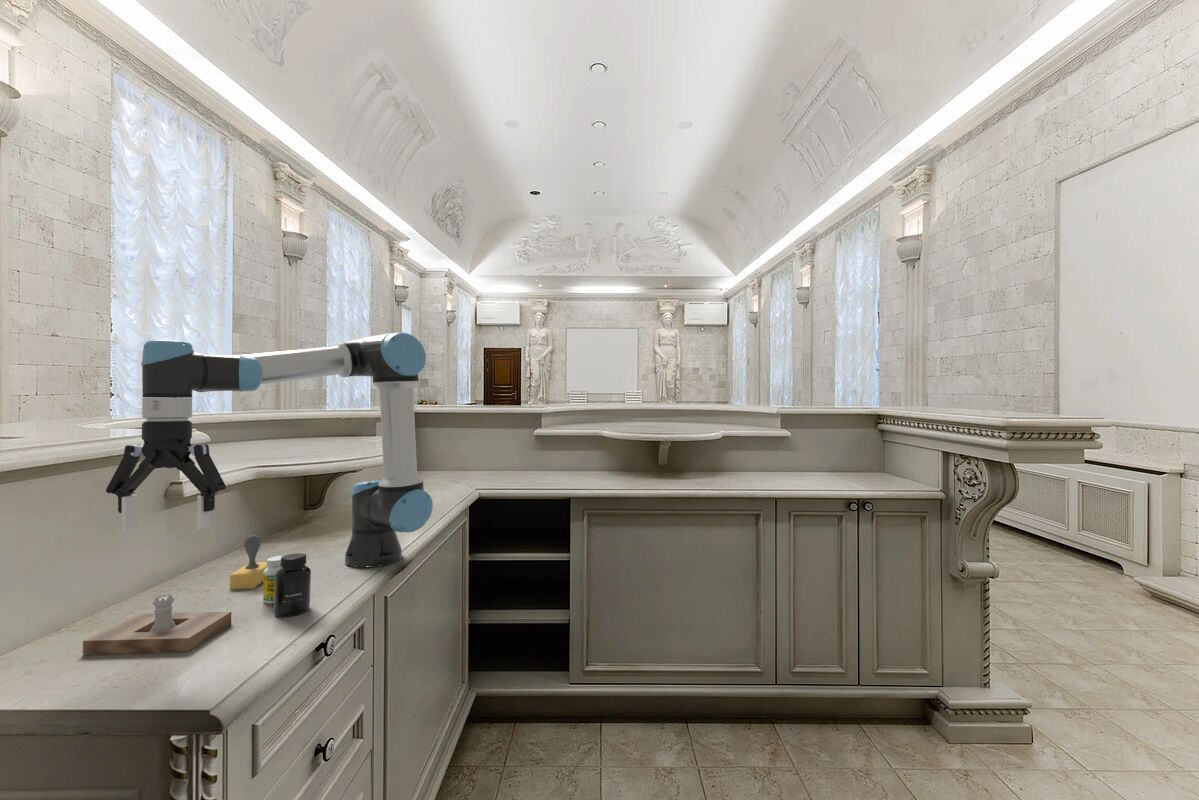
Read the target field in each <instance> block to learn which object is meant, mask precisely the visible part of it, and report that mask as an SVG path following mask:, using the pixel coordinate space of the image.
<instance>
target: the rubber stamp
mask: <svg viewBox="0 0 1199 800" xmlns="http://www.w3.org/2000/svg"><path fill="white" fill-rule="evenodd" d="M261 544H262V543H261V537H260V536H259V535H257V534H251V535H248V536H247V537H246V538H245V540H244V545H243V546H244V547H243V548H244V549H245V552H246V554H247V556H248V561H249V562H248V563H246V564H245V565H244V566H242V567H240V568H239V569H237V570H236V571H234V572H232V573H231V574H230V575H229V590H238V589H239V590H241V589H255V588H257V587H258V586H259V585H260V584H262V583H263V572H264V570H265V569H266V568H268V566H267V561H256V557H257V555H258V552H259V550H260V547H261Z"/></svg>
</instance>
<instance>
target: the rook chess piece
mask: <svg viewBox="0 0 1199 800" xmlns="http://www.w3.org/2000/svg"><path fill="white" fill-rule="evenodd" d="M174 601H175V598H174V597H173V594H171V593H168V594H165V593H164V594H163V595H162V597H161V595H157V596H156V597H154V601H153V602H152V605H153V606H154V607H155V609H154V610H153V612H154V613H155V620H154V625H153V626H152V629H151V630H150V632H167V631H169V630H170V629H172V628H174V627H176V626H177V625H175V622H174V621H173V618H172V613H173V611H172V610H173V609H174V607H173V602H174Z"/></svg>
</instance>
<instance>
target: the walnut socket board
mask: <svg viewBox="0 0 1199 800" xmlns="http://www.w3.org/2000/svg"><path fill="white" fill-rule="evenodd" d="M172 618H173V621H174V622H175V625H177V626H176V627H174V628H172V629H170V630H169V631H167V632H150V630H151V629H152V626H153V625H154V620H155V612H154V613H153V612H152V613H149V612H148V613H137V614H135V615H133V616H131V617H128V618H127V619H125V620H122V621H121V622H118V623H117V624H114V625H112V626H110V627H108V628H106V629H104V630H102V631H101V632H99V633H96V634H94V635H92V636H90V637H88V638H86V639H84V640H82V655H83V654H95V655H118V654H119V655H123V654H128V655H129V654H131V655H132V654H157V653H158V654H161V653H163V654H164V653H188V652H190V651H192V650H194V649H195V648H196V647H198V646H200V645H201V644H203V643H204V642H206V641H208V640H209V639H210V638H212V637H214V636H215V635H216V634H218V633H220V632H221V631H222V630H224V629H226V628H227V627H229V626H230V625H232V611H206V612H204V611H200V612H196V611H195V612H172Z"/></svg>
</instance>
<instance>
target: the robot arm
mask: <svg viewBox="0 0 1199 800" xmlns="http://www.w3.org/2000/svg"><path fill="white" fill-rule="evenodd" d="M426 361H427V354H426V350H425V347H424V346H423V344H422V343H421V341H419V339H418V338H417V337H415V336H414V335H413V334H410V333H407V332H396V331H395V332H389V333H385V334H384V333H383V334H378V335H371V336H370V335H369V336H366V337H363V338H358V339H356V340H349V341H344V342H343V341H342V342H336V343H335V344H334V345H333V346H328V347H318V348H317V347H315V348H305V349H292V350H283V351H282V350H281V351H271V352H261V353H259V352H258V353H251V354H250V353H249V354H237V355H229V354H227V355H226V354H209V353H207V354H206V353H199V352H195V350H194V349H193V344H192V343H190V342H188V341H181V340H180V341H179V340H169V339H168V340H167V339H152V340H149V341H146V342H145V343H144V344H143V349H142V360H141V370H142V372H141V374H142V375H141V376H142V377H141V380H142V382H141V383H142V393H141V394H142V398H141V399H142V401H141V402H142V403H141V404H142V405H141V417H142V418H143V419H146V421H143V422H142V423H141V440H143V445H141V444H138V443H137V444H129V445H126V446H125V447H124V451H123V452H124V453H123V457H122V458H121V460H120V463H119V464H118V467H117V468H116V470H115V472H114V474H113V476H112V477H111V480H110V481H109V483H108V485H107V486H106V489H105V492H106V493H107V494H113V495H116V496H117V512H118V513H119V514H121V532H128V531H131V530H135V529H137V528H138V494H136V492H135V491H136V490H137V489H138V488H139V487H140V485H142V483H143V482H144V481H145V480H146V479H147V478H148V476H149V475H151V473H153V472H154V470H155V469H162V468H167V469H173V468H174V469H175V468H176V470H178V471H180V472H181V473H182V474H183V475H184V476H185V477H186V478H187V479H188V480H189V481H190V483H191V484H192V485H193V486H194V487H195V488H196V489H197V490H198V491H199V492H200V495H197V497H196V530H197V531H200V530H201V531H202V530H205V529H207V528H210V527H211V518H212V517H211V515H212V514H211V511H214V510H215V501H216V499H215V498H216V493H219V492H221V491H225V490H226V488H227V485H226V483H225V482H224V481H225V480H224V479H223V478H222V476H221V474H220V472H219V470H218V468H217V465H216V464H215V462H214V460H213V459H212V457H211V455H210V447H209V445H208V444H207V443H201V444H195V445H192V444H191V440H192V438H193V422H192V421H191V420H189V419H191V418H192V417H193V391H194V392H198V393H206V392H224V391H225V392H226V391H227V392H228V391H229V392H230V391H231V392H232V391H233V392H235V391H236V392H252V391H256V390H258V389H259V387H260V386H261V385H265V384H267V385H268V384H274V383H282V382H288V381H289V382H290V381H297V380H305V379H313V378H314V379H315V378H321V377H328V376H336V375H338V376H340V377H342V378H349V377H370V378H371V377H372V384H373V385H374V386H375V387H376V388H378V390H379V406H380V407H379V408H380V423H381V424H380V425H381V444H382V446H381V447H382V466H383V469H382V470H383V477H382V479H379V480H378V479H377V480H369V481H362V482H361V481H360V482H357V483H355V484H354V485H353V487H352V493H351V502H352V505H351V507H352V508H351V511H352V512H351V513H352V515H351V537H350V540H349V543H348V545H347V548H346V551H345V555H344V564H345V563H346V564H347V565H346V564H345V565H346V566H348V565H350V566H349V567H351V566H356V567H355V568H367V567H366V566H376V567H380V566H379V565H382V566H386V565H385V564H387V565H390V564H393V562H394V563H396V562H399V560H401V559H402V557H403V552H402V551H403V550H402V547H401V543H400V541H399V538H398V534H397V533H414V532H417V531H418V530H420V529H421V528H423V527H424V526H425V525H426V523H427V521H429V519H430V518H431V516H432V512H433V506H434V505H433V502H434V501H433V498H432V497H431V495H430V494H429V493H428V492H427V491H426V490H424V478H422V477H421V476H420V475H419V474H418V467H417V466H418V463H417V446H416V445H417V442H416V439H417V438H416V422H415V419H416V418H415V404H414V403H415V402H414V399H415V398H414V388H415V387H416V385H417V384H418V383H419V379H420V378H419V374H420V373H421V372H422V371H423V368H424V367H425V365H426ZM142 455H143V456H144V459H143V460H142V461H141V462H140V463H139V464H138V462H139V460H140V457H141V456H142ZM191 455H192V456H194V458H195V461H196V463H197V465H198V467H199V468H200V469H199V468H198V467H197V466H196V463H195V461H194V460H193V459H192V458H191V457H190V456H191ZM137 464H138V468H136V466H137ZM135 468H136V470H134V469H135ZM389 563H390V564H389Z"/></svg>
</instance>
